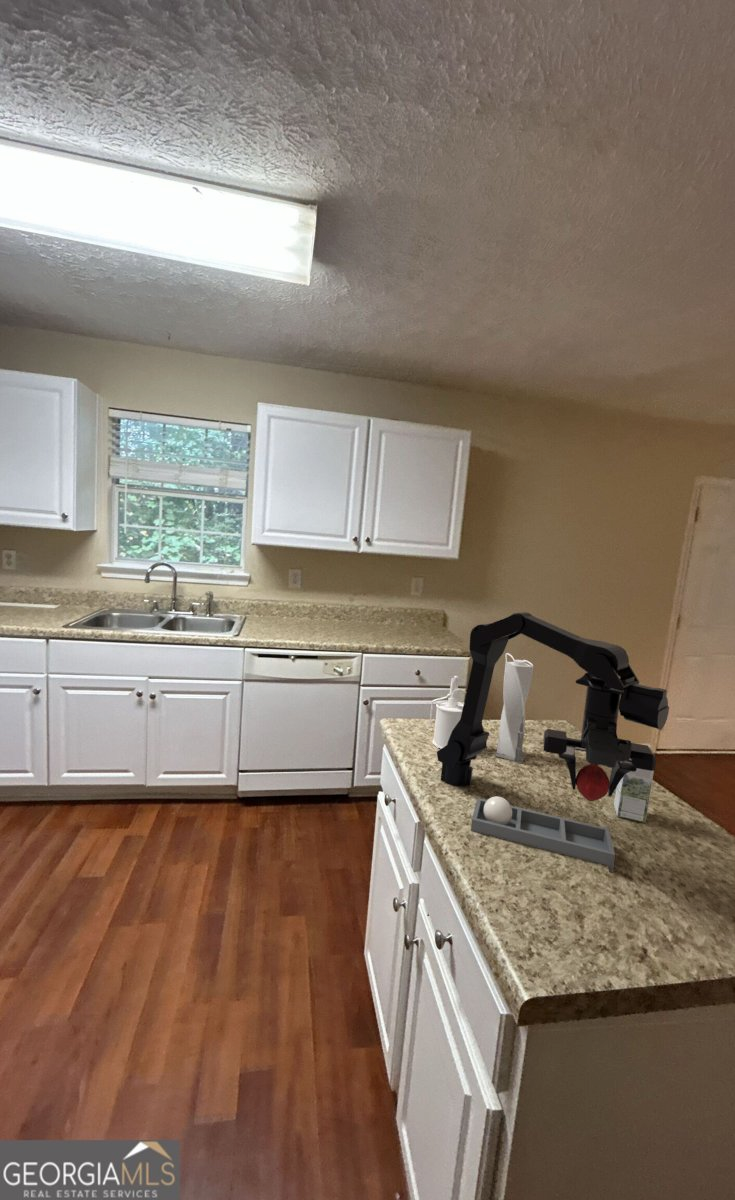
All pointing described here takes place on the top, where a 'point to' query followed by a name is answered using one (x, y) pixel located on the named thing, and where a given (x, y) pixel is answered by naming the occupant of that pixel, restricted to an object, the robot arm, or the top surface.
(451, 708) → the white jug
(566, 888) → the top surface
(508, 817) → the ceramic egg
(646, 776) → the syrup box
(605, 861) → the egg tray
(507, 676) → the skyscraper
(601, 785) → the onion
